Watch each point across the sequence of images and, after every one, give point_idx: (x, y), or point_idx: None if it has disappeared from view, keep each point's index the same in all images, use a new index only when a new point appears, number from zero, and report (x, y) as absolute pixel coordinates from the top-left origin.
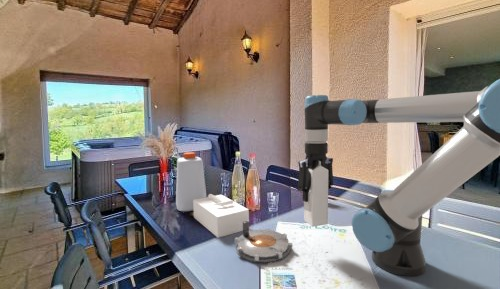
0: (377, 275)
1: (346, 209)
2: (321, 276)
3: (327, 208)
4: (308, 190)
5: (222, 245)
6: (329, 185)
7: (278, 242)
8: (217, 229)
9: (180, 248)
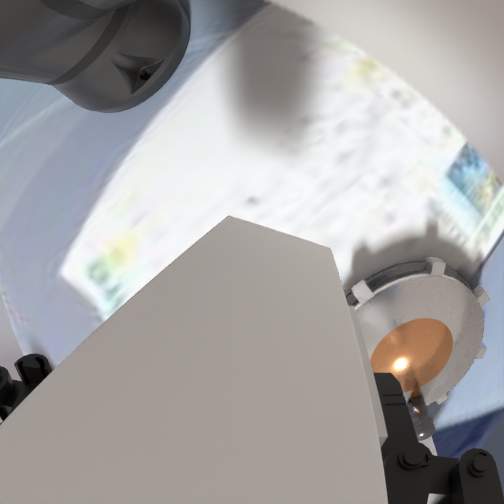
0: (231, 23)
1: (31, 338)
2: (388, 111)
3: (199, 245)
4: (412, 462)
5: (452, 398)
6: (22, 388)
7: (388, 324)
8: (433, 445)
9: (497, 413)
